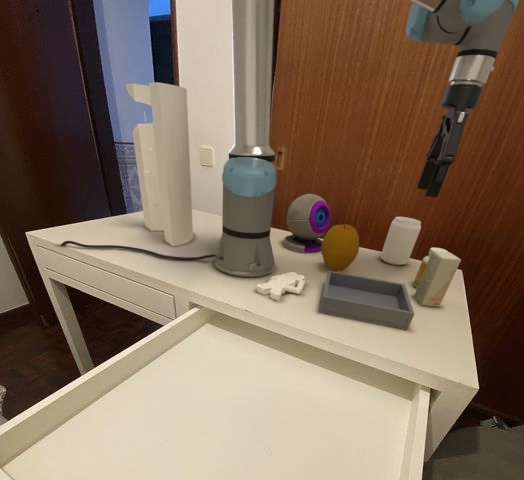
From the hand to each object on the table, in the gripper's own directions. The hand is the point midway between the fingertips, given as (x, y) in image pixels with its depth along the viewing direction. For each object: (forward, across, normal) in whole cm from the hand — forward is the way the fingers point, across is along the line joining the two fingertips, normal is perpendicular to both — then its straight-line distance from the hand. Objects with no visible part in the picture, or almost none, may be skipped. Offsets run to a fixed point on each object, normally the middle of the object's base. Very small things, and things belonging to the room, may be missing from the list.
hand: (426, 192), depth 79 cm
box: (+20, -24, -4) cm, 31 cm away
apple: (+20, -13, +19) cm, 30 cm away
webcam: (+20, +2, +30) cm, 36 cm away
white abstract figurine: (+19, -32, +30) cm, 48 cm away
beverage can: (+20, +2, +2) cm, 20 cm away
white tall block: (+19, -9, +70) cm, 73 cm away
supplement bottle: (+20, -15, -4) cm, 25 cm away
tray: (+19, -33, +11) cm, 40 cm away
